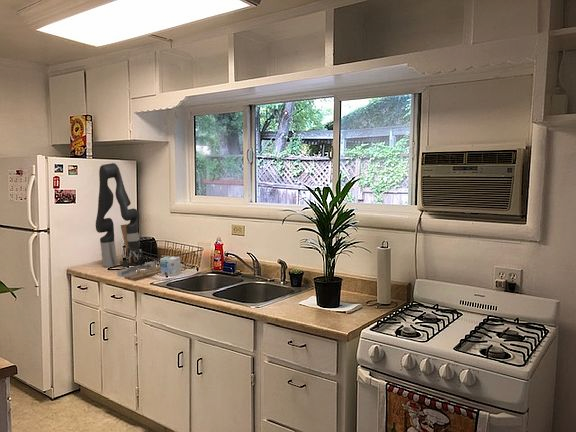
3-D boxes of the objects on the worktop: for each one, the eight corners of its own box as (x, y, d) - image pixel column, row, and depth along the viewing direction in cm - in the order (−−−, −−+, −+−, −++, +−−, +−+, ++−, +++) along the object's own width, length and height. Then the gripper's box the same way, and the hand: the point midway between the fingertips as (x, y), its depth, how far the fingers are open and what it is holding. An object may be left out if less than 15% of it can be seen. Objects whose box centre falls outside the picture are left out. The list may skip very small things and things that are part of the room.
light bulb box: (161, 275, 297) (159, 258, 295) (166, 272, 303) (165, 256, 302) (176, 276, 294) (174, 259, 292) (181, 273, 300) (180, 256, 298)
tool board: (124, 278, 296) (123, 271, 295) (161, 267, 316) (160, 261, 316) (135, 281, 288) (134, 273, 288) (172, 270, 309) (171, 263, 308)
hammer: (121, 270, 326) (111, 227, 325) (127, 268, 330) (117, 226, 329) (139, 267, 315) (129, 223, 313) (145, 265, 319) (135, 222, 317)
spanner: (117, 276, 303) (117, 270, 302) (151, 266, 322) (150, 261, 321) (122, 277, 300) (121, 271, 299) (155, 267, 319) (155, 262, 318)
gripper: (122, 240, 309) (125, 264, 311) (134, 241, 300) (137, 266, 302) (132, 237, 315) (135, 261, 317) (144, 239, 305) (147, 264, 308)
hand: (136, 264), depth 309 cm, fingers open, 8 cm apart
